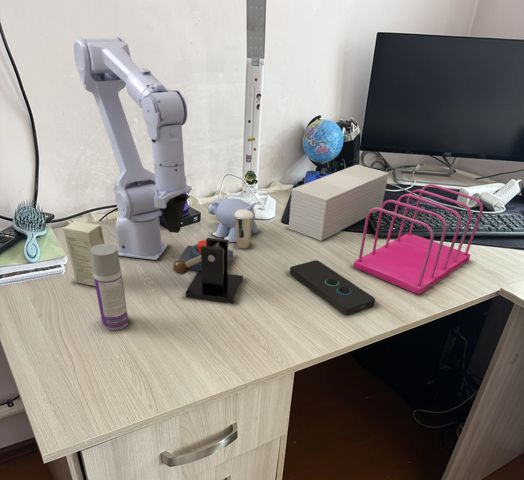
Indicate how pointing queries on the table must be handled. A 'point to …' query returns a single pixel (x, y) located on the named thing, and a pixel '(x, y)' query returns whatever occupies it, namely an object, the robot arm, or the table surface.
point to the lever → (189, 262)
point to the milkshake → (243, 227)
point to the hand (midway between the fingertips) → (174, 231)
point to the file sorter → (416, 247)
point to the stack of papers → (336, 201)
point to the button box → (193, 252)
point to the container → (109, 286)
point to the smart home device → (332, 287)
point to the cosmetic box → (82, 248)
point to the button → (200, 244)
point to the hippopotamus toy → (229, 216)
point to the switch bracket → (215, 275)
